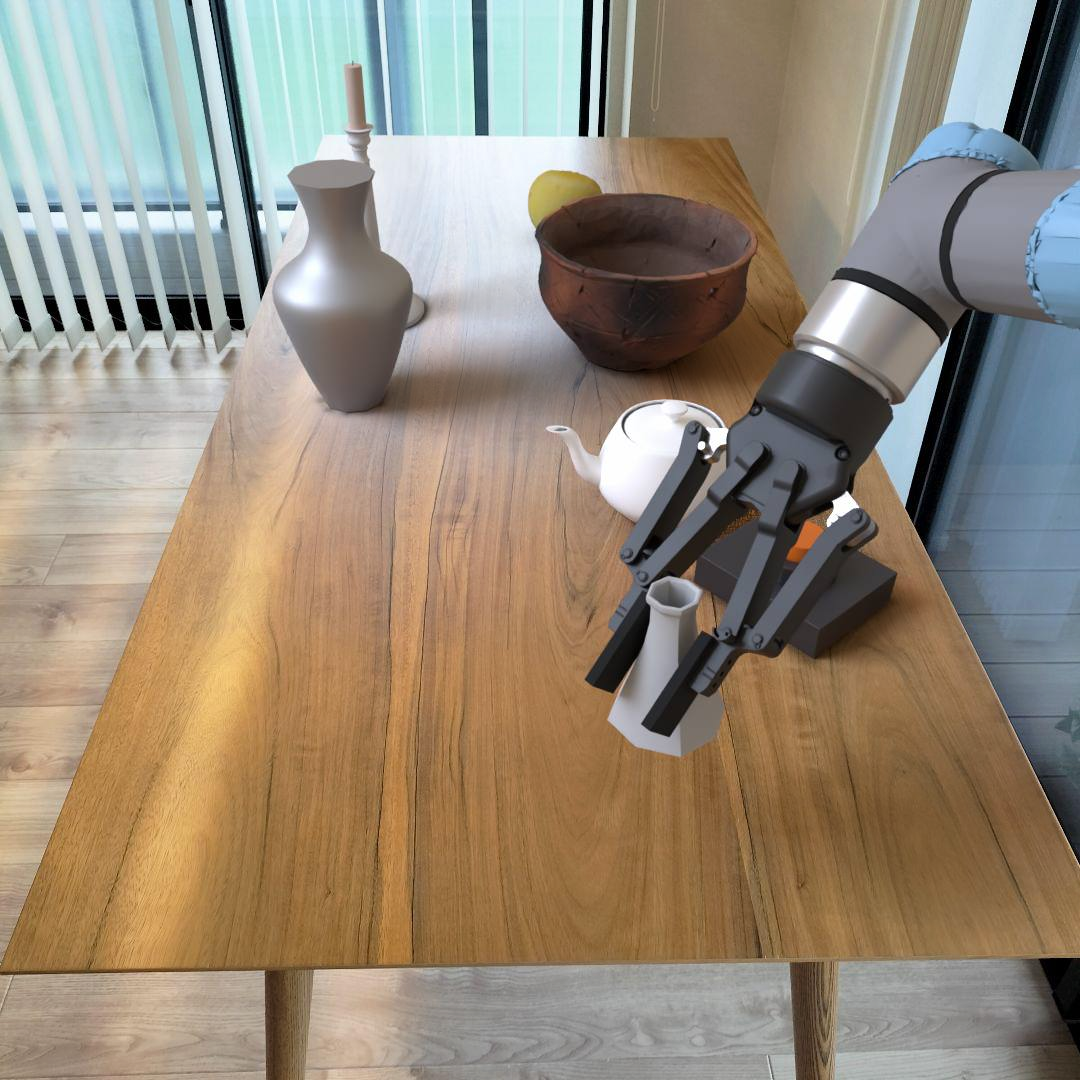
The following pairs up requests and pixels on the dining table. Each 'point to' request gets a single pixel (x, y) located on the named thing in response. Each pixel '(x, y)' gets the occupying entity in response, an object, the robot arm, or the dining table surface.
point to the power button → (804, 541)
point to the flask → (666, 673)
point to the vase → (342, 290)
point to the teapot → (641, 453)
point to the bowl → (642, 275)
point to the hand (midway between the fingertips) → (626, 707)
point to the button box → (834, 613)
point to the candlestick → (367, 160)
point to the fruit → (557, 192)
